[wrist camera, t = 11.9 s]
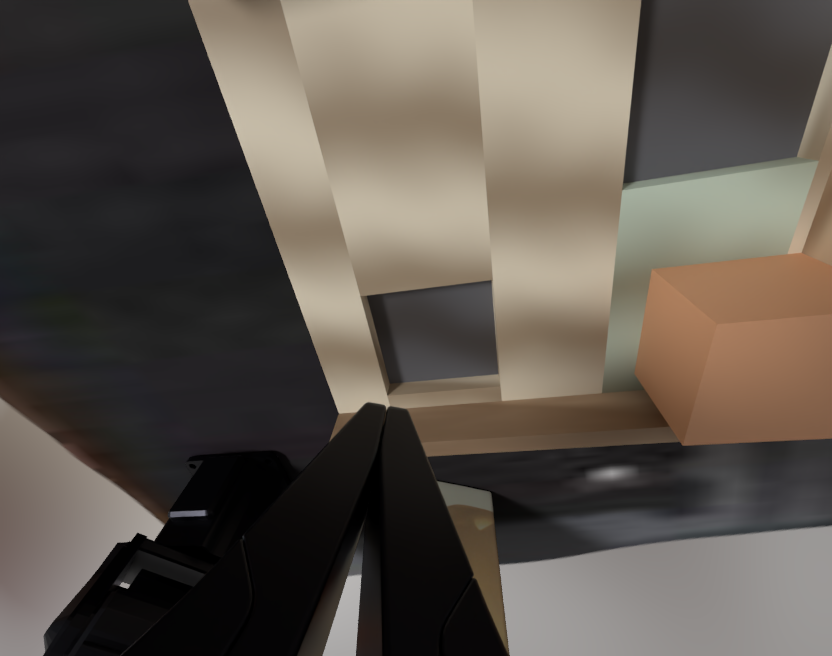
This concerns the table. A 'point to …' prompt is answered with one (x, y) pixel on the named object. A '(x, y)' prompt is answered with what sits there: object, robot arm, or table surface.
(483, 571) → the skincare box
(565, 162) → the tray
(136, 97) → the table surface
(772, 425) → the rust block
